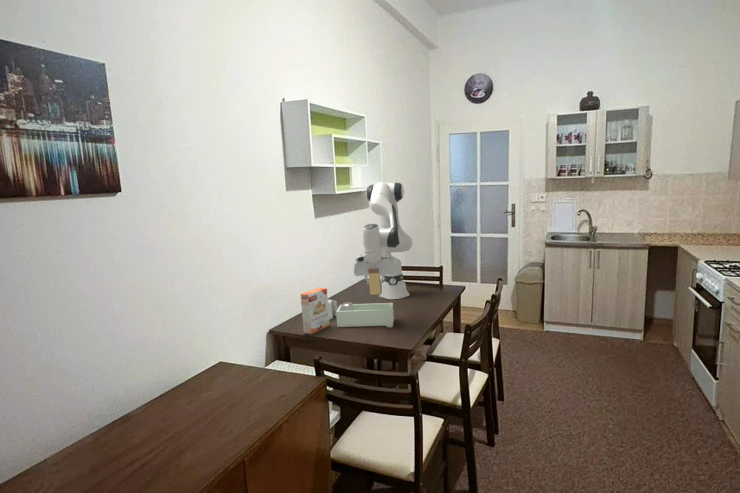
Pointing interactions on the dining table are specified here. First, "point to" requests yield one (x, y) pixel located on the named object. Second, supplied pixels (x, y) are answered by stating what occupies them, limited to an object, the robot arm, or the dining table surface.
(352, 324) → the tote
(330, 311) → the toilet tissue
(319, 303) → the cracker box
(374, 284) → the oat carton
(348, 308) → the tin can
